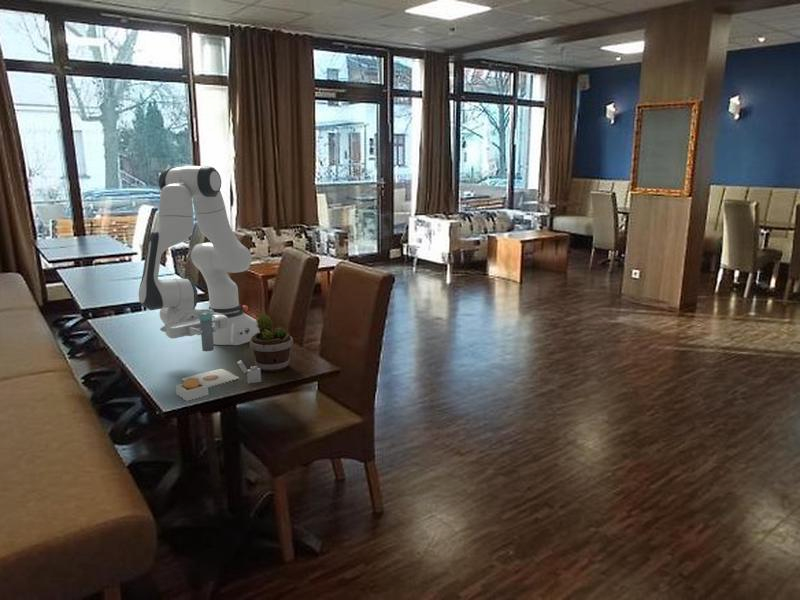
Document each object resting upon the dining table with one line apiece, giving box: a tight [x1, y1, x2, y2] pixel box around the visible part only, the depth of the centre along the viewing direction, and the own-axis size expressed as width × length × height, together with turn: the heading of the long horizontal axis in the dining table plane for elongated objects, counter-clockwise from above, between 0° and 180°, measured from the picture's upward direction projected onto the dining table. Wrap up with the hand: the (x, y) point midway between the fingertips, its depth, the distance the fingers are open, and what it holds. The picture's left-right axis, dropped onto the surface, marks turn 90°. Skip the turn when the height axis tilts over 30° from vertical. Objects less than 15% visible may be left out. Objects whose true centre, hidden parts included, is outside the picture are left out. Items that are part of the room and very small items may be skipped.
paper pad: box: [181, 367, 240, 388], centre depth 191 cm, size 14×12×1 cm
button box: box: [175, 381, 209, 402], centre depth 179 cm, size 7×7×3 cm
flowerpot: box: [249, 311, 294, 373], centre depth 201 cm, size 14×15×20 cm
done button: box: [183, 378, 200, 390], centre depth 178 cm, size 4×4×2 cm
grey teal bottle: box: [199, 312, 215, 352], centre depth 188 cm, size 4×4×12 cm
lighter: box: [236, 359, 262, 384], centre depth 188 cm, size 7×2×8 cm, turn 120°
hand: (207, 330), depth 187 cm, fingers closed on grey teal bottle, 4 cm apart
